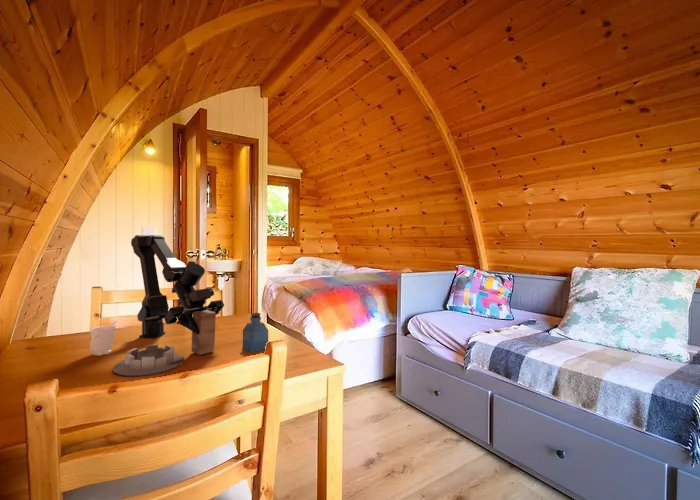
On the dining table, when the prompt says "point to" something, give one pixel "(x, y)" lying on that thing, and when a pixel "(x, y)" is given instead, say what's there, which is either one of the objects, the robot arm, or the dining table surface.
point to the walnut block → (204, 332)
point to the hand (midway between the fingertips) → (206, 331)
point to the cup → (102, 339)
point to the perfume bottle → (255, 334)
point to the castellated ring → (148, 361)
